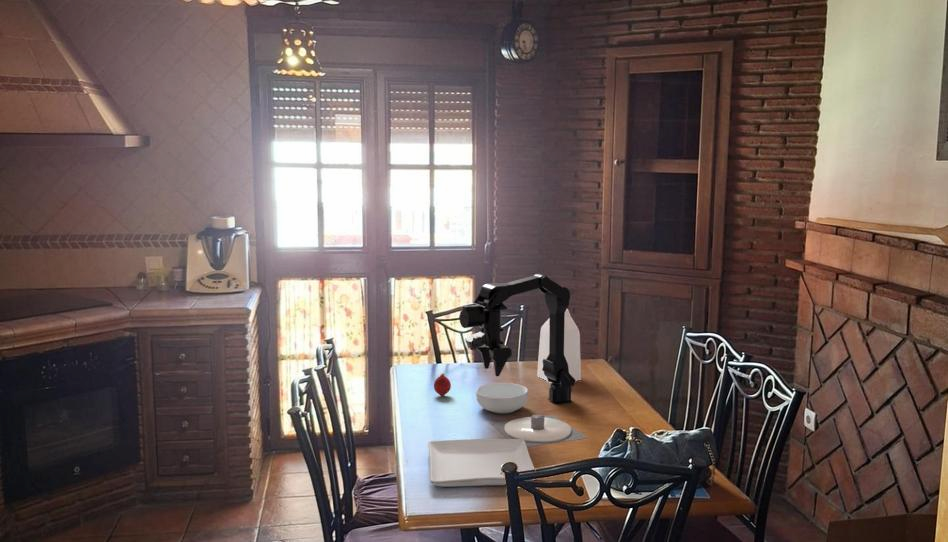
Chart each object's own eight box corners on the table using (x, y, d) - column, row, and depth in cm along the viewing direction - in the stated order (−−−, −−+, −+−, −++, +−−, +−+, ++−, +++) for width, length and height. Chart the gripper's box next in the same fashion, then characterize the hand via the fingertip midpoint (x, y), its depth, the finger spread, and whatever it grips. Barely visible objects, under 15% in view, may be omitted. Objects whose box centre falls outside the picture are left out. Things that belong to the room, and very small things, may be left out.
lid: (551, 416, 260) (552, 403, 259) (583, 437, 242) (583, 423, 241) (493, 423, 252) (494, 410, 252) (521, 446, 234) (522, 431, 233)
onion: (448, 399, 277) (448, 376, 276) (432, 398, 279) (431, 375, 277) (452, 394, 283) (452, 371, 282) (436, 393, 284) (436, 370, 283)
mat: (553, 415, 261) (553, 414, 261) (587, 439, 241) (587, 437, 241) (489, 424, 253) (489, 423, 253) (520, 449, 233) (520, 447, 233)
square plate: (427, 452, 231) (427, 439, 231) (524, 450, 233) (524, 437, 233) (429, 493, 204) (429, 478, 204) (538, 490, 206) (538, 476, 206)
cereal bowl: (495, 399, 278) (495, 379, 277) (537, 408, 268) (537, 387, 267) (465, 412, 264) (465, 391, 263) (508, 422, 255) (509, 400, 254)
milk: (565, 373, 310) (566, 305, 305) (580, 381, 299) (582, 311, 295) (536, 376, 305) (538, 308, 301) (552, 385, 294) (553, 314, 290)
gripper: (457, 320, 263) (458, 367, 266) (478, 333, 246) (478, 383, 248) (490, 317, 267) (489, 363, 270) (512, 329, 250) (512, 379, 252)
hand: (491, 372), depth 260 cm, fingers open, 9 cm apart
